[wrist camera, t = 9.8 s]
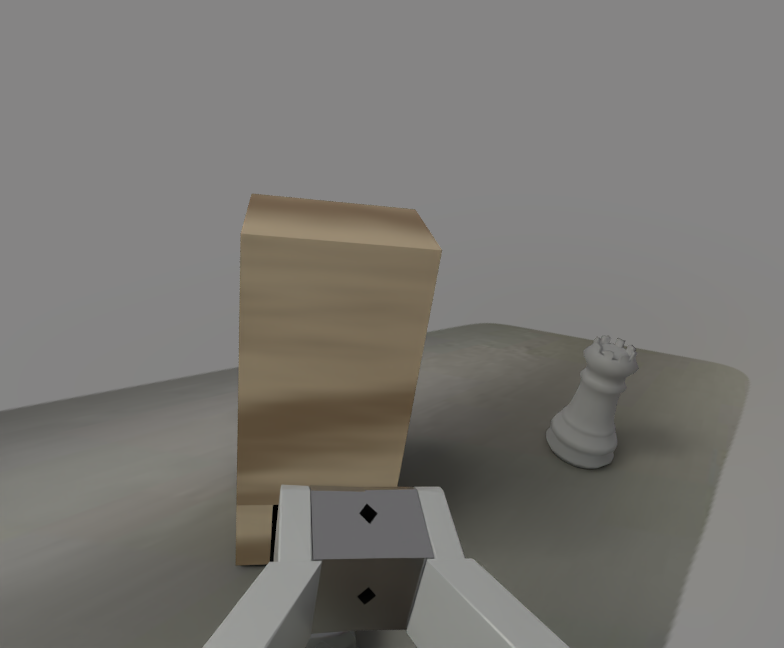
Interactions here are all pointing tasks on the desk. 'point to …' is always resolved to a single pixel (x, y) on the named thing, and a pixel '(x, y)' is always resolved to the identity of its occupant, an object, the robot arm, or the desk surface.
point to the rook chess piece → (593, 406)
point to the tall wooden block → (325, 349)
